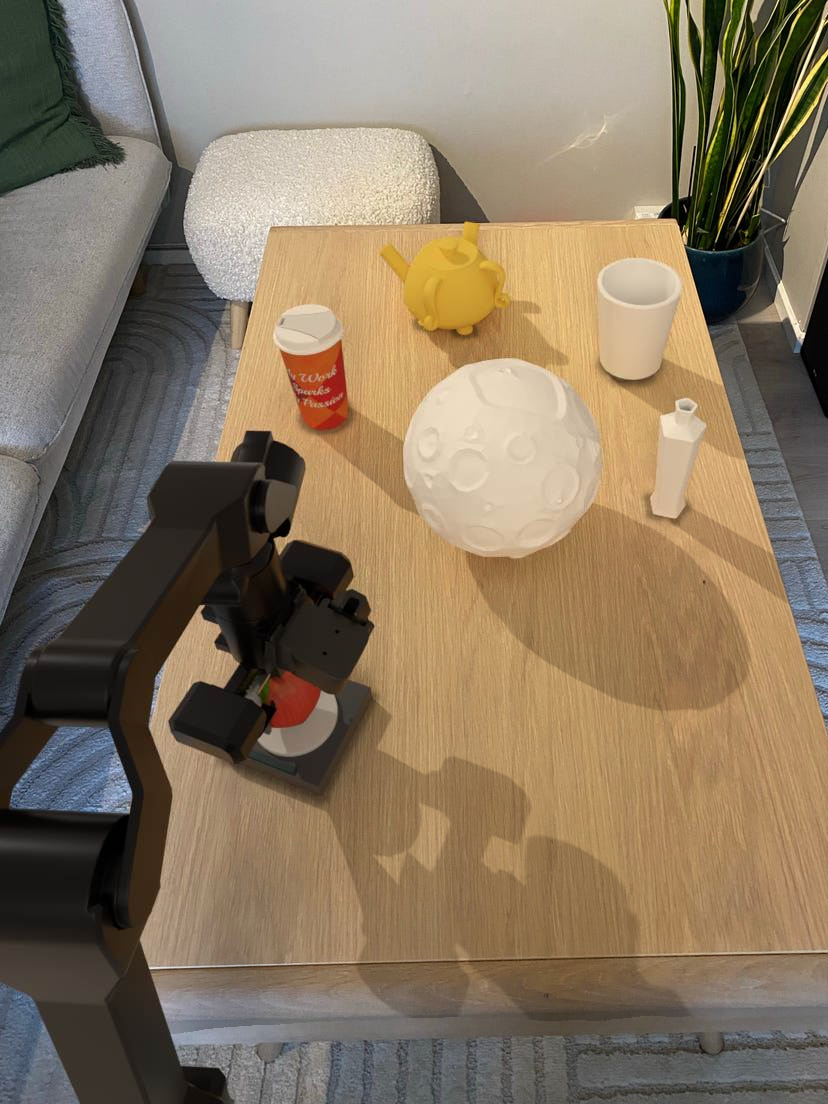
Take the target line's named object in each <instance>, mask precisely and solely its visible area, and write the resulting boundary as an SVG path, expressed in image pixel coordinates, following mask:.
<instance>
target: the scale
mask: <svg viewBox="0 0 828 1104" xmlns="http://www.w3.org/2000/svg"><path fill="white" fill-rule="evenodd" d="M373 698H374V696H373V692H372V689H371V687H370V686H368V685H366V684H362V683H360V682H357V681H353V680H351V679H348V681H347V683H346V685H345V687H344V688H343V690H342V691H341V692H339V693H338V694H333V695H331V694H327V693H325V692H323V691H321V694H320V697H319V700H318V702H317V704H316V707H315V708H314V710H313V711H312V713H311V714H310V716H309V717H308V718H307V720H306V721H305V722H304V723H302V724H301V725H297V726H293V727H287V728H272V732H271V733H270V735H267V734H265V733H263V734H262V736H261V737H260V738H259V739H258V740H257V742H256V743H255V745H254V747H253V749H252V750H251V752H250V754H249V755H248V757H247V759H246V760H245V761H243V762H240V763H238V764H239V765H242V766H244V767H247V768H248V769H251V770H255V771H257V772H258V773H262V774H264V775H266V776H269V777H272V778H275V779H277V780H279V781H282V782H284V783H286V784H289V785H292V786H295V787H298V788H300V789H301V790H305V791H307V792H310V793H313V794H315V795H317V796H320V797H323V795H324V793H325V791H326V790H327V787H328V785H329V784H330V781H331V780H332V778H333V776H334V773H335V772H336V770H337V768H338V766H339V764H340V763H341V761H342V759H343V756H344V754H345V753H346V751H347V749H348V747H349V745H350V743H351V741H352V739H353V738H354V735H355V734H356V731H357V729H358V727H359V726H360V723H361V722H362V719H363V718H364V716H365V714H366V712H367V710H368V708H369V707H370V704H371V703H372V700H373Z"/></svg>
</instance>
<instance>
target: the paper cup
mask: <svg viewBox="0 0 828 1104" xmlns="http://www.w3.org/2000/svg"><path fill="white" fill-rule="evenodd" d="M344 333H345V327H344V326H343V324H342V322H341V320H340V319H339V318H338V317H337V316H336V314H335V313H334V312H333V311H332V310H331V309H330V308H328V307H326V306H325V305H322V304H321V305H320V304H314V303H313V304H311V303H307V304H300V305H297V306H294V307H291V308H289V309H287V310H286V311H284V312H283V313H282V314H281V315H280V317H279V318H278V320H277V322H276V326H275V327H274V330H273V334H272V338H273V339H272V341H273V342H274V344H275V346H276V347H277V348H278V349H279V352H280V355H281V358H282V361H283V364H284V367H285V370H286V373H287V376H288V379H289V383H290V386H291V389H292V391H293V394H294V397H295V401H296V403H297V407H298V409H299V413H300V415H301V419H302V420H303V422H304V424H305V425H306V426H307V427H309V428H310V429H313V430H317V431H327V430H332V429H335V428H337V427H339V426H340V425H342V424H343V423H344V422H345V421H346V420H347V418H348V415H349V400H348V389H347V381H346V371H345V362H344V351H343V345H342V344H343V343H342V338H343V335H344Z"/></svg>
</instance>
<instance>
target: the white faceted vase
mask: <svg viewBox="0 0 828 1104" xmlns="http://www.w3.org/2000/svg"><path fill="white" fill-rule="evenodd" d="M674 403H675V408H674V411H673V412H669V413H665V414H662V415H660V417H659V430H658V444H657V457H656V474H655V483H654V485H655V486H654V491H653V492H652V494H651V495H650V497H649V500H650V505H651V511H652V513H653V515H655V516H660V517H664V518H670V519H677V518H678V517H679V515H680V514H681V513H682V511H683V510H684V509H685V507H686V505H687V504H686V499H685V494H686V491H687V488H688V485H689V482H690V478H691V476H692V472H693V469H694V466H695V463H696V460H697V458H698V457H697V456H698V453H699V451H700V447H701V444H702V441H703V438H704V435H705V432H706V428H707V425H708V424H707V423H706V422H704V421H703V420H702V419H700V418H699V417H698V416H697V415H695V413H696V409H697V408H698V407H699V406H698V403H696V402H695V401H693V399H691V398H690V397H684V398H680V399H677V400H675V402H674Z"/></svg>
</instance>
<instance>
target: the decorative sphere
mask: <svg viewBox="0 0 828 1104" xmlns="http://www.w3.org/2000/svg"><path fill="white" fill-rule="evenodd" d="M407 428H408V429H407V431H406V433H405V438H404V442H403V449H402V460H403V474H404V479H405V483H406V486H407V489H408V491H409V494H410V495H411V497H412V499H413V501H414V504H415V508H416V510H417V512H418V514H419V516H420V517H421V519H422V520H423V521H424V522H425V524H426V525H427V526H428V527H429V528H430V529H431V530H432V531H433V532H434V533H435V534H436V535H438V536H439V537H440V538H442V539H443V540H445V541H446V542H447V543H449V544H451V545H452V546H454V547H457V548H458V549H461V550H463V551H466V552H468V553H471V554H473V555H476V556H478V557H484V558H504V557H507V558H510V559H511V560H512V559H521V558H525V557H527V556H529V555H531V554H534V553H536V552H538V551H540V550H544V549H546V548H549V547H551V546H552V545H554V544H556V543H557V542H559V541H561V540H562V539H564V537H566V536H567V535H568V534H569V533H571V531H572V529H573V527H575V525H576V524H577V523H578V521H579V520H580V519H581V518H582V517H583V516H584V515H585V513H586V512H588V510H589V509H590V507H591V506H592V505H593V502H594V500H595V499H596V496H597V493H598V490H599V487H600V483H601V479H602V474H603V455H602V447H601V446H602V445H601V432H600V430H599V426H598V425H597V422H596V419H595V417H594V415H593V413H592V411H591V410H590V408H589V407H588V405H587V403H586V402H584V400H583V399H582V397H580V396H579V395H578V393H577V392H576V390H575V389H574V387H573V386H572V385H571V384H570V383H568V382H567V381H566V380H565V379H563V378H561V377H560V376H558V375H556V374H554V373H553V372H552V371H550V370H548V369H546V368H544V367H542V366H540V365H537V364H534V363H532V362H528V361H526V360H523V359H521V358H514V357H506V358H495V359H488V360H482V361H479V362H475V363H468V364H465V365H463V366H461V367H459V368H458V369H456V370H455V371H453V372H452V373H451V374H449V375H448V376H447V377H445V378H444V379H442V380H441V381H440V382H438V383H437V384H435V385H434V386H433V387H432V388H431V389H430V390H429V391H428V392H427V394H426V395H425V396H424V398H423V399H422V400H421V402H420V403H419V405H418V406H417V407H416V410H415V411H414V414H413V415H412V417H411V420H410V423H409V425H408V427H407Z"/></svg>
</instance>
